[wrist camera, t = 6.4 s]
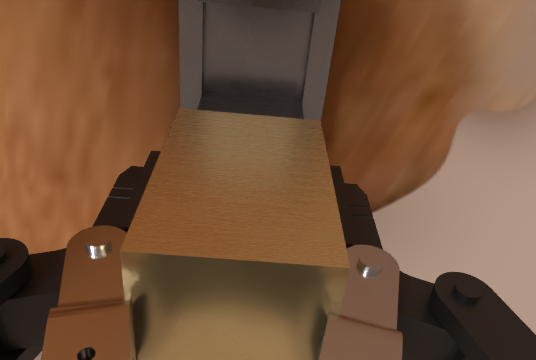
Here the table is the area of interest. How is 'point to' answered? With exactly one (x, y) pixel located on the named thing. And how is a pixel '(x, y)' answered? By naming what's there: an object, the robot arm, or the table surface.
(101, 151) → the table surface
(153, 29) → the table surface
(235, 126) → the tan rectangular block
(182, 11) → the grey divided rack
